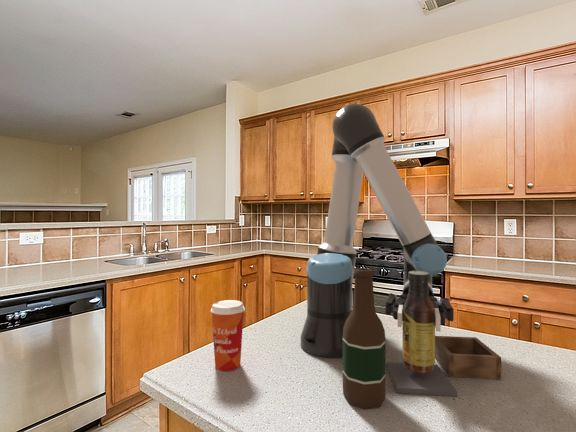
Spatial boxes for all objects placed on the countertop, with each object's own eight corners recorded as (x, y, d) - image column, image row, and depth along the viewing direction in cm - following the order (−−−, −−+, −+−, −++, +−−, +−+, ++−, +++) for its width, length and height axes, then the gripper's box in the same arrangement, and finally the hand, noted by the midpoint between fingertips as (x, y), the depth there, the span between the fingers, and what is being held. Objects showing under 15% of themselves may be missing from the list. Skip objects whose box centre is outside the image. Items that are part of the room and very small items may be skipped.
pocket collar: (448, 376, 69) (448, 355, 69) (431, 353, 80) (431, 335, 80) (501, 379, 68) (501, 357, 68) (476, 356, 79) (476, 337, 79)
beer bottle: (387, 412, 56) (387, 273, 56) (341, 407, 58) (341, 271, 58) (383, 389, 64) (383, 266, 64) (343, 385, 65) (343, 265, 65)
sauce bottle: (403, 359, 71) (403, 268, 72) (434, 364, 69) (434, 270, 69) (401, 372, 65) (401, 273, 65) (435, 378, 63) (435, 275, 63)
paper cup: (203, 370, 72) (203, 306, 72) (222, 356, 79) (222, 298, 79) (234, 376, 69) (234, 310, 69) (251, 361, 76) (251, 301, 76)
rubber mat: (396, 392, 62) (396, 387, 62) (386, 366, 73) (386, 362, 73) (457, 396, 61) (457, 391, 61) (437, 369, 72) (437, 364, 72)
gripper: (459, 313, 81) (475, 349, 59) (379, 306, 88) (367, 335, 66) (459, 283, 81) (475, 307, 59) (379, 278, 88) (367, 298, 66)
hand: (418, 322), depth 63 cm, fingers closed on sauce bottle, 6 cm apart
